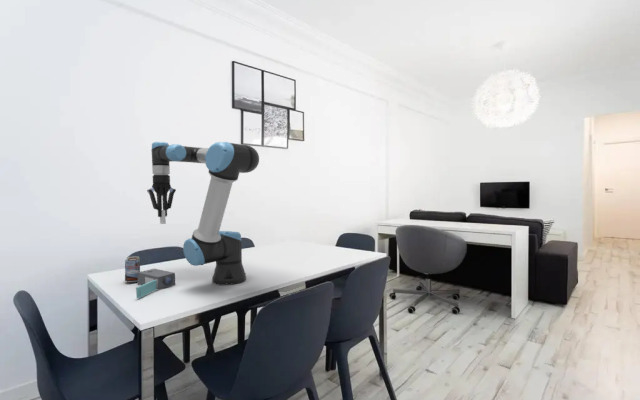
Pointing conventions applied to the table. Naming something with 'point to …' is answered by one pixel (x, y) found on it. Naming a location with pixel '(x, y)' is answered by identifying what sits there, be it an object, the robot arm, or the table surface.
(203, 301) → the table surface
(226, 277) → the robot arm
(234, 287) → the table surface
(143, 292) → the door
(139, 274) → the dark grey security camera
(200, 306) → the table surface
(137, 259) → the beverage can
